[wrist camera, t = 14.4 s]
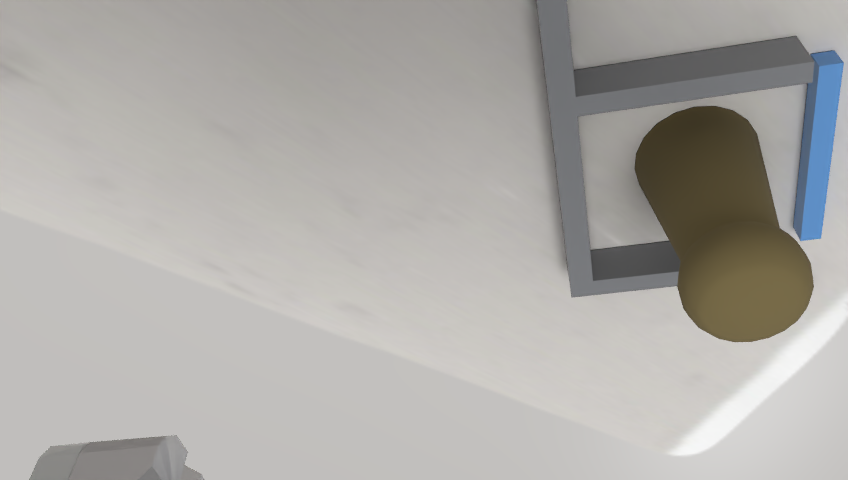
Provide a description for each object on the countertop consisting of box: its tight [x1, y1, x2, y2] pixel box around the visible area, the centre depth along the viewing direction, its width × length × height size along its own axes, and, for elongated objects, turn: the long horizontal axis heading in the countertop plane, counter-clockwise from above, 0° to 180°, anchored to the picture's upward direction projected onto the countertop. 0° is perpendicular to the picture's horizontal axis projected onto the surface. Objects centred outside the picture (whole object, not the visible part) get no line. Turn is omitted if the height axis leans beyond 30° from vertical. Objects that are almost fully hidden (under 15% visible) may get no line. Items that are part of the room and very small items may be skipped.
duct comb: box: [536, 0, 844, 297], centre depth 36 cm, size 13×23×2 cm, turn 11°
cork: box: [635, 106, 814, 342], centre depth 36 cm, size 6×6×11 cm
